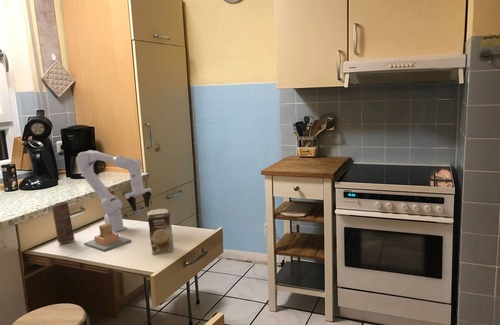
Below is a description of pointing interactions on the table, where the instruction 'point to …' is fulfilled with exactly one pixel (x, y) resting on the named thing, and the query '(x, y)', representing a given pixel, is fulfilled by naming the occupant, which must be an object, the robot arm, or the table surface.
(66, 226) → the brown tall block
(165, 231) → the coffee box
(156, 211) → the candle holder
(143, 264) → the table surface
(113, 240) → the collar board
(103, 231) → the oak peg
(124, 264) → the table surface
